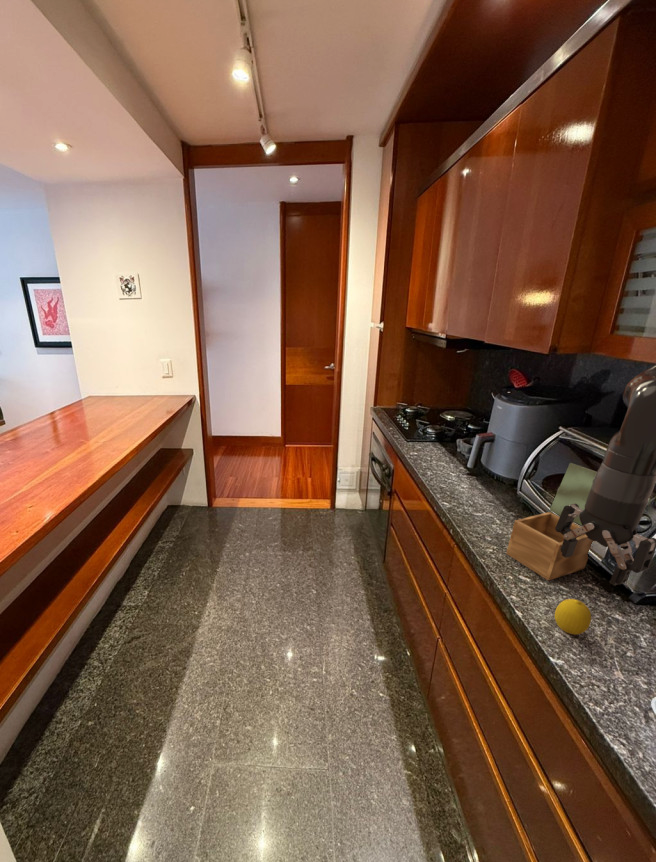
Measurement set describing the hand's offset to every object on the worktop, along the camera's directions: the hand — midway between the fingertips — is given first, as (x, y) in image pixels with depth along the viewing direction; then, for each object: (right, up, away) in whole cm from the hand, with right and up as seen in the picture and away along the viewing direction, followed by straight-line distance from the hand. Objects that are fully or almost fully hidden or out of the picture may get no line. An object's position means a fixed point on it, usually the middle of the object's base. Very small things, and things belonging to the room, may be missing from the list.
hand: (589, 569), depth 72 cm
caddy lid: (+17, +12, +23) cm, 31 cm away
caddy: (+10, -5, +27) cm, 29 cm away
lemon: (0, -14, +6) cm, 16 cm away
